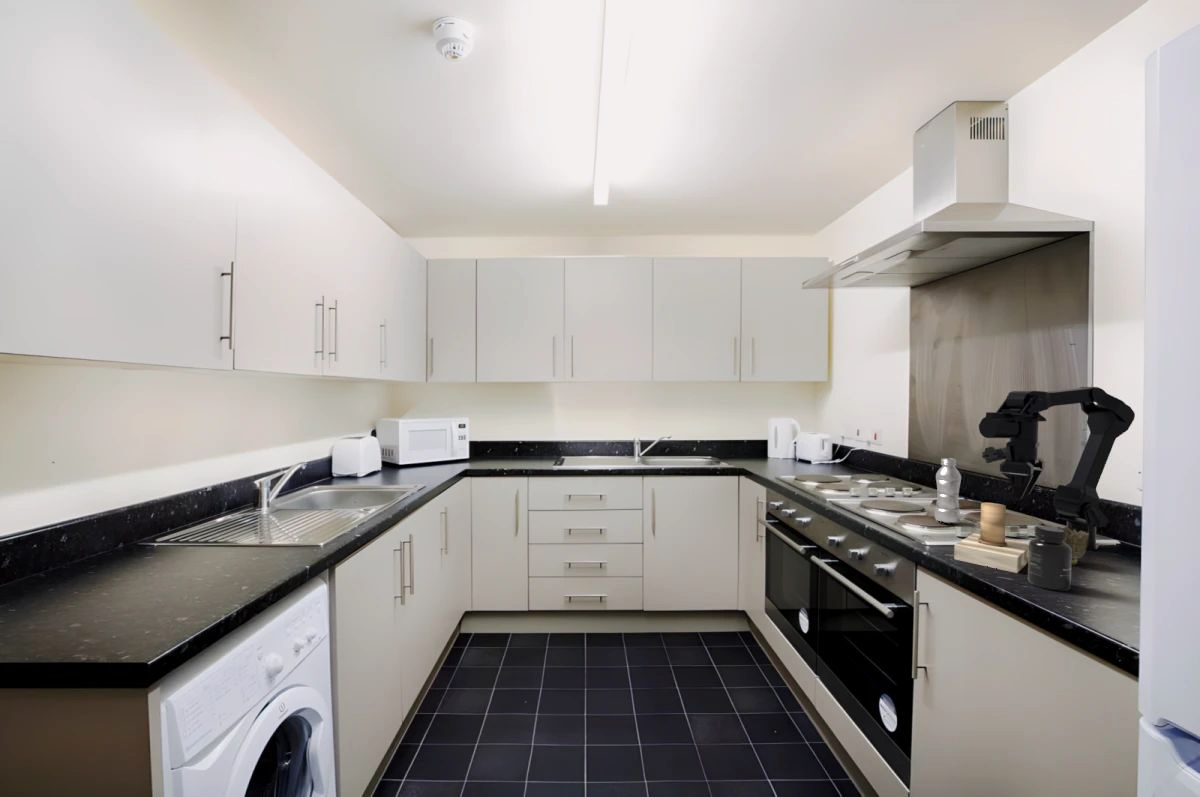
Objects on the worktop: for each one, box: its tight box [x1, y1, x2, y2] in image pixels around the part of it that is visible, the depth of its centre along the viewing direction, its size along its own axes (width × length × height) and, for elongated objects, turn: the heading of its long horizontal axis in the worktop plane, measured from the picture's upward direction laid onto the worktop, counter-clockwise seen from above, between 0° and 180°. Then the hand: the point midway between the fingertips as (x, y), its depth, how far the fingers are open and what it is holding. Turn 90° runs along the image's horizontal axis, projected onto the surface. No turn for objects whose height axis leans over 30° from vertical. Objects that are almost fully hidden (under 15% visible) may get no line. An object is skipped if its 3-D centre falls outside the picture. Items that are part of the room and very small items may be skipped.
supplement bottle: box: [1027, 525, 1072, 592], centre depth 107 cm, size 7×7×12 cm
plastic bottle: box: [933, 457, 962, 523], centre depth 157 cm, size 6×7×20 cm
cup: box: [1056, 526, 1089, 566], centre depth 121 cm, size 8×7×8 cm
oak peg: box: [978, 502, 1007, 547], centre depth 125 cm, size 6×6×13 cm
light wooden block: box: [953, 532, 1029, 574], centre depth 124 cm, size 16×12×4 cm
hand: (1021, 497), depth 134 cm, fingers open, 9 cm apart
